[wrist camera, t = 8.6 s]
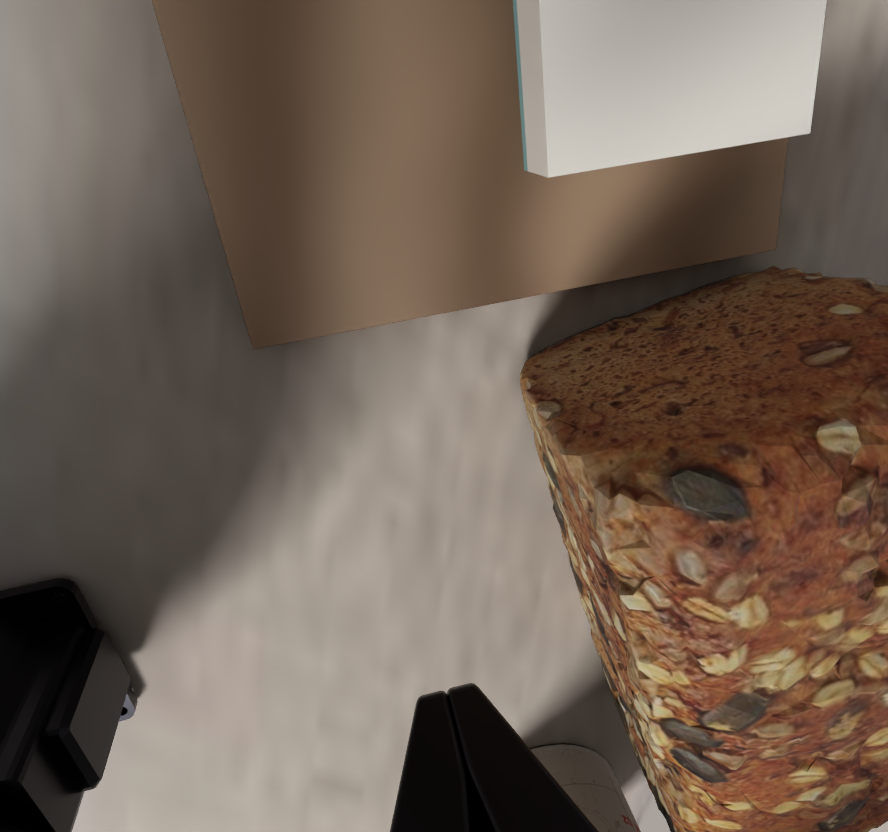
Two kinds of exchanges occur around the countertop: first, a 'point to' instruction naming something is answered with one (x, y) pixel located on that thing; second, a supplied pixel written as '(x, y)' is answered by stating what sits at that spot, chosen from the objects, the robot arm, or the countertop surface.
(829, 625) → the bread
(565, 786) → the thermos bottle
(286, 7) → the board
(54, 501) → the countertop surface
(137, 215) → the countertop surface
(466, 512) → the countertop surface
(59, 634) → the robot arm
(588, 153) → the tile
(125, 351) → the countertop surface
